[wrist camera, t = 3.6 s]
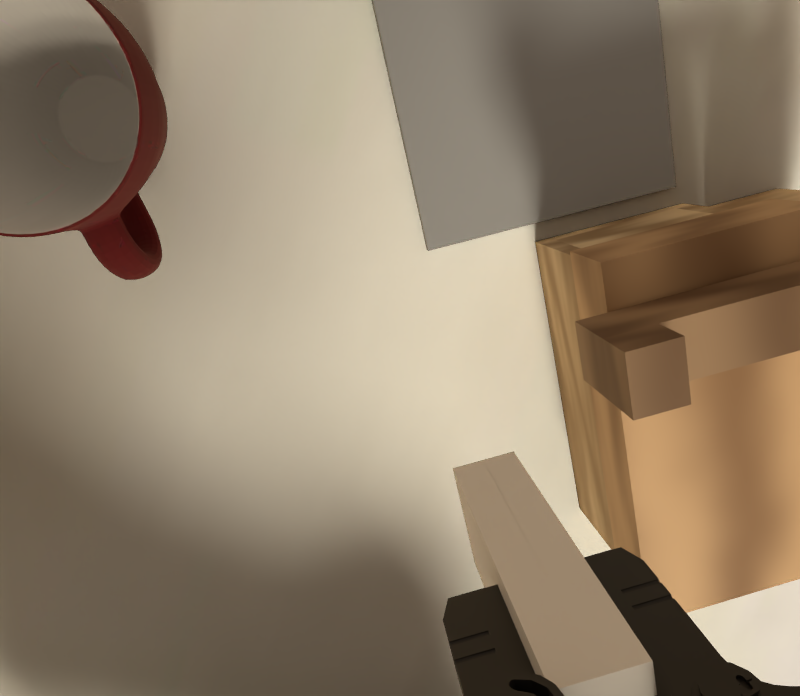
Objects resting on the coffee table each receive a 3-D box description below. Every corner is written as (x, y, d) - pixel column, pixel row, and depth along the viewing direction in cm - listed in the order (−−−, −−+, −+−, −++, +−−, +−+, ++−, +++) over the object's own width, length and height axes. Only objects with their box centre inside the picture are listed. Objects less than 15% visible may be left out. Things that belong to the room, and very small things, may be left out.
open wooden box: (579, 507, 37) (697, 661, 26) (534, 239, 33) (655, 284, 21) (789, 448, 38) (992, 571, 27) (776, 176, 33) (1019, 187, 22)
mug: (261, 207, 30) (239, 230, 21) (114, 289, 30) (25, 349, 21) (129, -17, 27) (30, -111, 18) (-36, 77, 27) (-221, 33, 18)
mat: (427, 249, 32) (428, 250, 32) (320, -232, 26) (320, -239, 25) (671, 186, 33) (675, 186, 32) (624, -297, 27) (629, -304, 26)
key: (583, 380, 25) (633, 420, 21) (574, 321, 24) (624, 352, 20) (872, 300, 25) (971, 326, 21) (871, 241, 24) (974, 256, 21)
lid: (619, 581, 32) (649, 623, 29) (569, 251, 27) (600, 262, 24) (787, 532, 32) (833, 568, 30) (770, 198, 27) (824, 203, 24)
